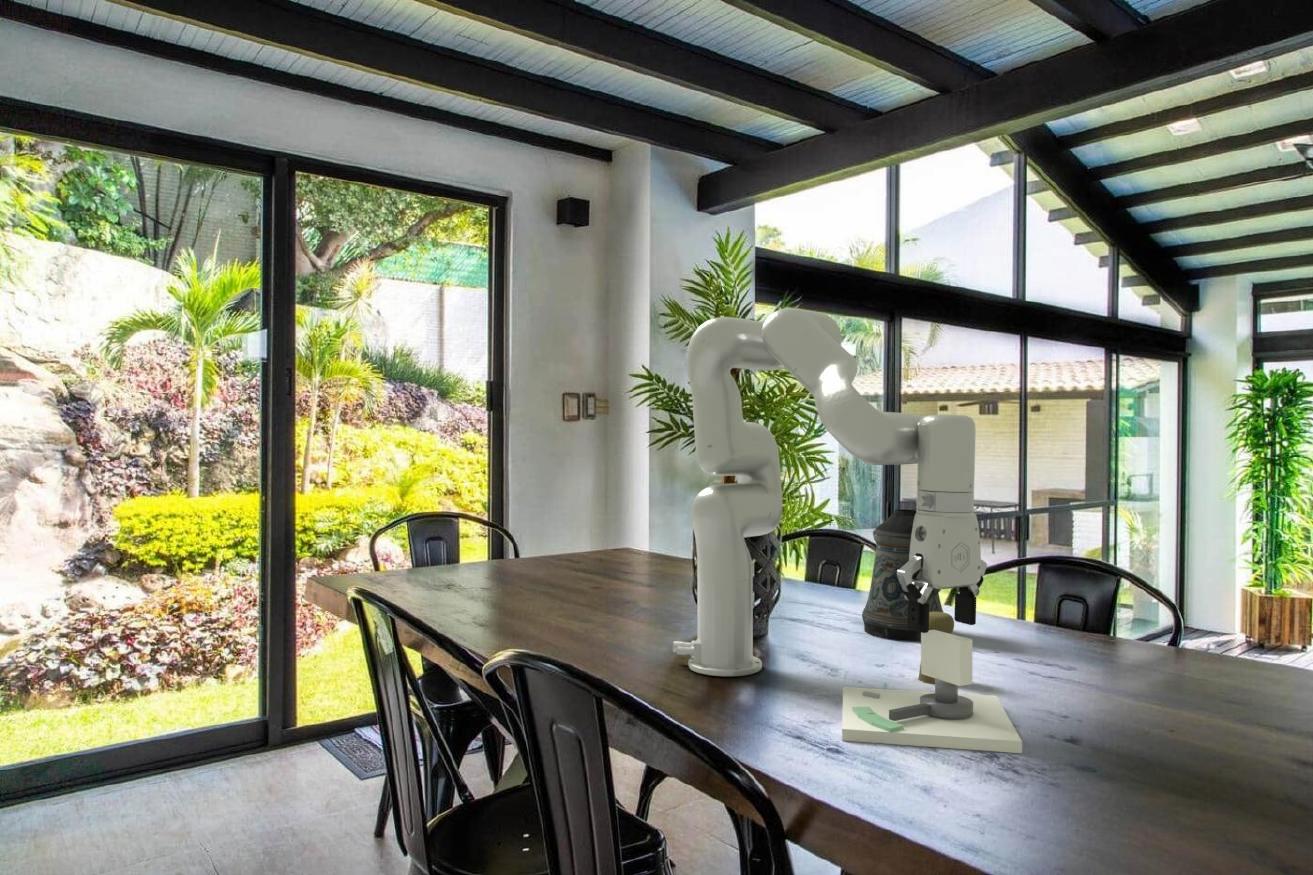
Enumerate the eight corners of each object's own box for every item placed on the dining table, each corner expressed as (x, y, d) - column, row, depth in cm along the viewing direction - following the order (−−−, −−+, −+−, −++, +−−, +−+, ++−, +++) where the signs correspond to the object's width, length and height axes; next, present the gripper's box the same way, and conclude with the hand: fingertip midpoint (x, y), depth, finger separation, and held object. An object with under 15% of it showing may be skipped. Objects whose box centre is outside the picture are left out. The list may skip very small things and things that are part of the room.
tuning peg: (945, 700, 126) (945, 627, 126) (984, 713, 119) (984, 637, 119) (873, 714, 119) (873, 637, 119) (910, 729, 113) (910, 648, 113)
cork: (959, 685, 139) (959, 616, 140) (920, 683, 141) (920, 615, 141) (954, 676, 145) (954, 609, 145) (916, 674, 147) (916, 608, 147)
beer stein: (880, 620, 190) (879, 505, 190) (971, 632, 179) (971, 509, 179) (849, 634, 177) (848, 510, 177) (945, 647, 165) (945, 515, 165)
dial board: (842, 740, 114) (842, 725, 114) (843, 696, 134) (843, 683, 134) (1022, 753, 109) (1022, 737, 109) (996, 706, 129) (996, 692, 129)
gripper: (924, 508, 113) (920, 640, 114) (1007, 504, 123) (1004, 625, 123) (880, 503, 120) (877, 628, 120) (963, 499, 129) (960, 615, 129)
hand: (941, 626), depth 121 cm, fingers open, 9 cm apart
